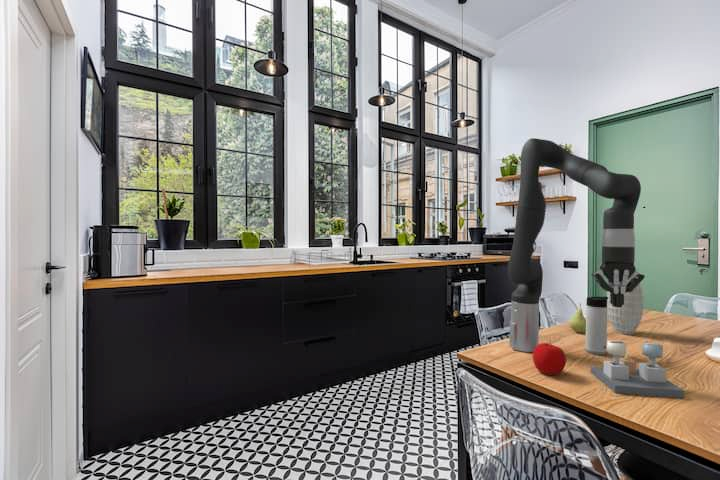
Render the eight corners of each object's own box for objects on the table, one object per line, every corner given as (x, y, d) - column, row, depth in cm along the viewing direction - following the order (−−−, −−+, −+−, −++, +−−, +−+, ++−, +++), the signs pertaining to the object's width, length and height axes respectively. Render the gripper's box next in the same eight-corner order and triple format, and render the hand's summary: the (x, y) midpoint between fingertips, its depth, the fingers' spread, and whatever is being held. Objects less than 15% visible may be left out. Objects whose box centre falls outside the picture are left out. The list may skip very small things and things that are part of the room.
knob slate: (648, 369, 98) (648, 345, 98) (638, 363, 102) (639, 340, 102) (666, 370, 97) (666, 346, 97) (656, 364, 102) (656, 341, 101)
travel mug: (611, 356, 124) (612, 298, 124) (589, 354, 125) (590, 297, 125) (602, 350, 130) (603, 295, 130) (582, 349, 132) (583, 294, 131)
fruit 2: (568, 332, 153) (569, 304, 153) (570, 329, 160) (570, 302, 159) (587, 335, 150) (587, 306, 149) (588, 331, 156) (588, 303, 155)
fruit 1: (573, 376, 106) (573, 343, 106) (548, 380, 104) (549, 345, 103) (548, 365, 115) (549, 334, 115) (525, 368, 112) (525, 336, 112)
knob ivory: (611, 366, 100) (611, 343, 100) (603, 361, 104) (604, 339, 104) (629, 368, 99) (629, 344, 99) (620, 362, 103) (620, 340, 103)
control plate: (614, 393, 95) (615, 372, 95) (590, 372, 109) (591, 354, 109) (684, 398, 92) (684, 376, 92) (650, 376, 106) (650, 358, 106)
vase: (606, 327, 163) (607, 265, 162) (642, 331, 156) (643, 266, 155) (605, 333, 153) (606, 267, 152) (643, 338, 145) (645, 269, 145)
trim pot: (623, 373, 104) (624, 356, 104) (618, 369, 107) (618, 353, 107) (635, 373, 103) (635, 357, 103) (629, 369, 106) (629, 354, 106)
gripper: (598, 245, 98) (597, 308, 99) (652, 245, 96) (651, 310, 96) (586, 244, 106) (585, 303, 106) (636, 245, 103) (635, 305, 104)
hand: (617, 306), depth 101 cm, fingers closed
